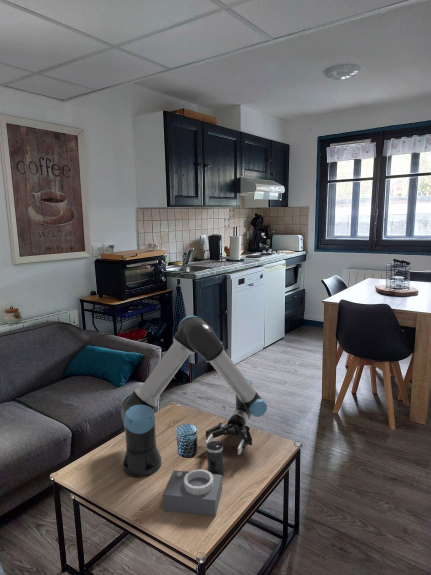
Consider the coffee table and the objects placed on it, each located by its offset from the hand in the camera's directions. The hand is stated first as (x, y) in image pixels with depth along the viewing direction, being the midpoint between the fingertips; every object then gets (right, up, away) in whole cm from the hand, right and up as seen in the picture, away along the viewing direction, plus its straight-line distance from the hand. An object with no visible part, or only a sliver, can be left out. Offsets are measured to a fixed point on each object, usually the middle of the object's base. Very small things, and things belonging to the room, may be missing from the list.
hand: (222, 448), depth 157 cm
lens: (-3, -8, -5) cm, 9 cm away
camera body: (-10, -11, -18) cm, 23 cm away
